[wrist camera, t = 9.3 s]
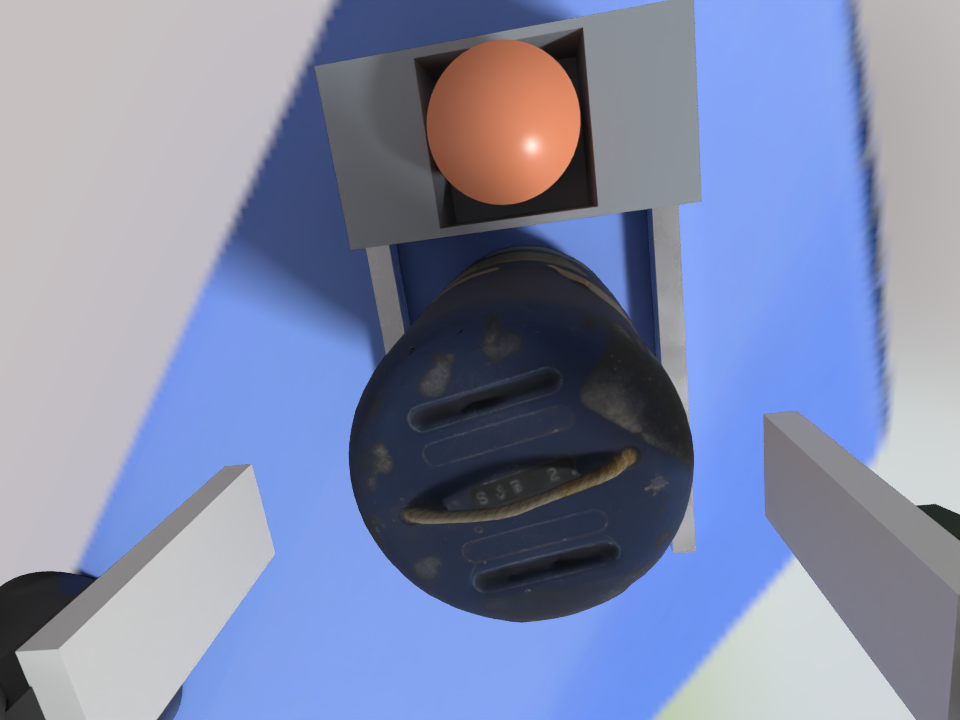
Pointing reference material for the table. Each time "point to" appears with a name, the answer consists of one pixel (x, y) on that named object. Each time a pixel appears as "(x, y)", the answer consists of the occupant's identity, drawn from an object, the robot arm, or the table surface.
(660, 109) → the end cabinet
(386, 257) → the rail track
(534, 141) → the button
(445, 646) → the table surface
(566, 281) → the canister
